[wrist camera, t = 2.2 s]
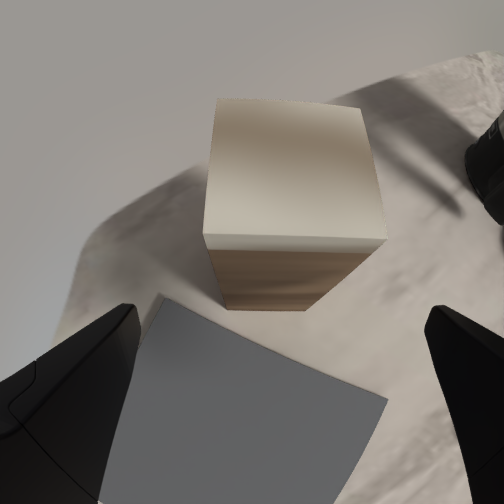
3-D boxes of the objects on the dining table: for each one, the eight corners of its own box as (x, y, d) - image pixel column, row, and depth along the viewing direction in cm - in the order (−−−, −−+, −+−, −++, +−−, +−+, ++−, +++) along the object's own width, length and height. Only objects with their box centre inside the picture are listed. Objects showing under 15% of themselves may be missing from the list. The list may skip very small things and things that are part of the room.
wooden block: (305, 311, 20) (387, 239, 8) (227, 310, 20) (202, 233, 8) (302, 239, 21) (360, 108, 10) (230, 237, 21) (217, 98, 10)
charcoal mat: (278, 571, 13) (278, 575, 12) (78, 481, 15) (75, 484, 14) (384, 398, 18) (388, 399, 17) (167, 299, 20) (165, 297, 19)
